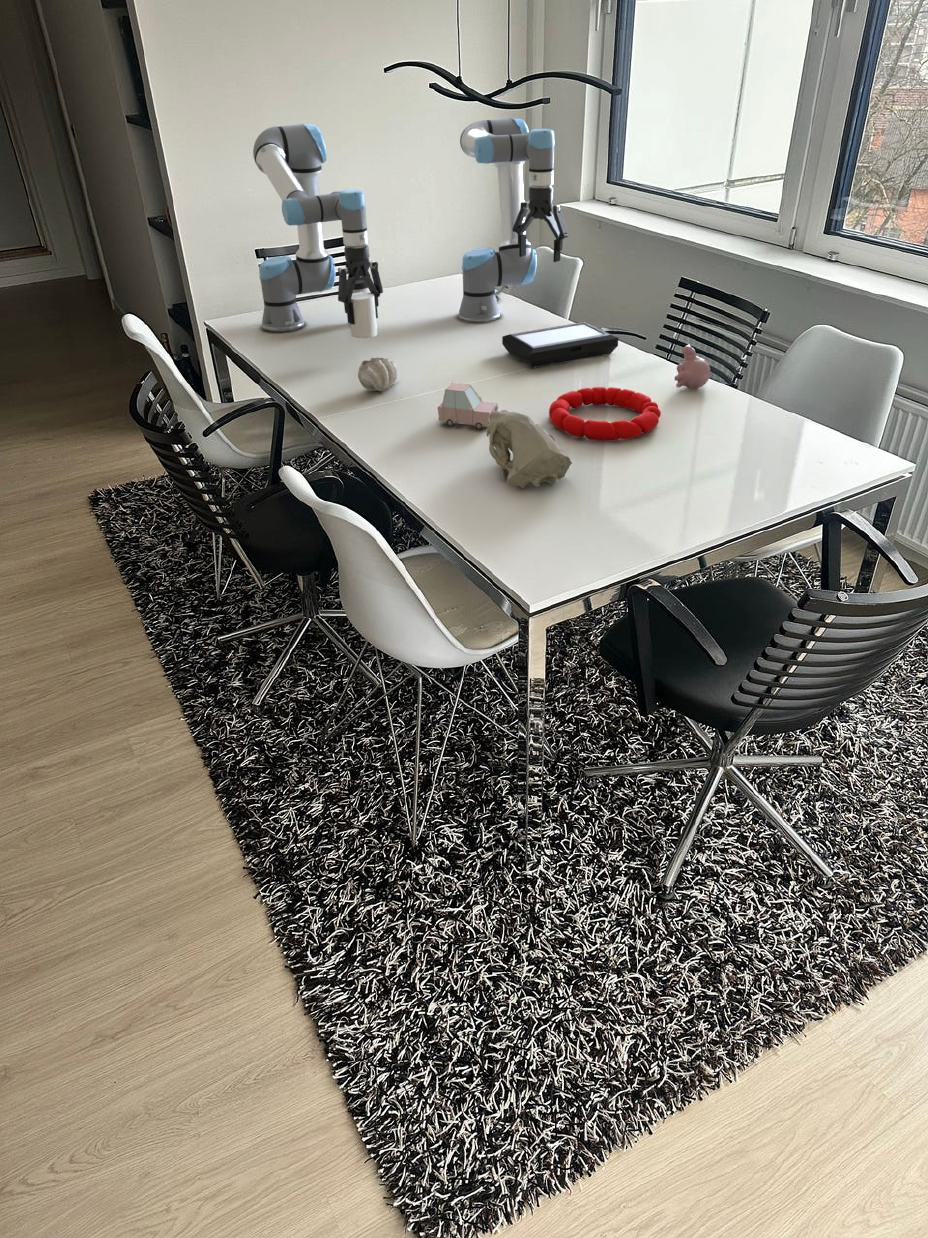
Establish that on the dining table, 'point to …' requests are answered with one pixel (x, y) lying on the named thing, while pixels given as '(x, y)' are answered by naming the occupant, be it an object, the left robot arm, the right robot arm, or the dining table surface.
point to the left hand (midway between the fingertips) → (363, 320)
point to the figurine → (692, 370)
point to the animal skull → (525, 450)
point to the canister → (363, 315)
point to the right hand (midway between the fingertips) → (539, 258)
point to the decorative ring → (604, 428)
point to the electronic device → (559, 344)
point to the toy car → (465, 406)
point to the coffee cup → (360, 286)
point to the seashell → (377, 374)
